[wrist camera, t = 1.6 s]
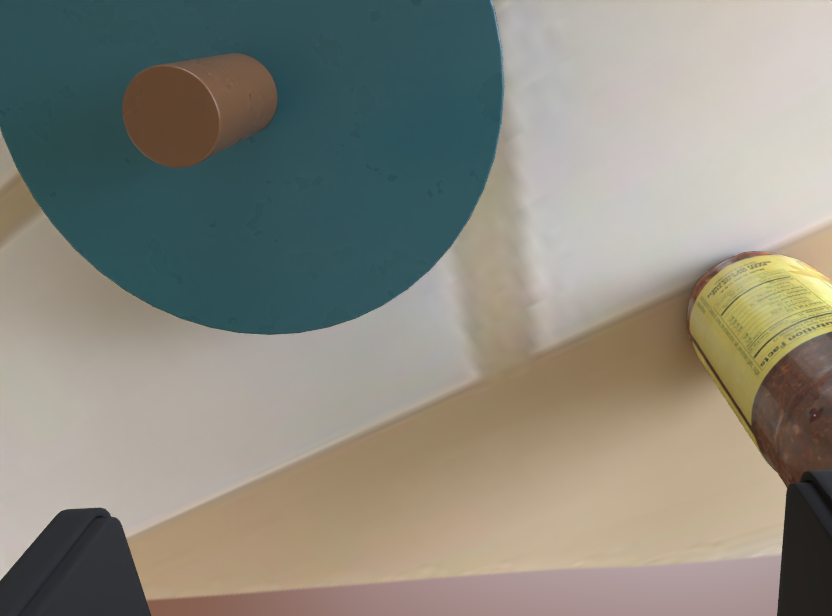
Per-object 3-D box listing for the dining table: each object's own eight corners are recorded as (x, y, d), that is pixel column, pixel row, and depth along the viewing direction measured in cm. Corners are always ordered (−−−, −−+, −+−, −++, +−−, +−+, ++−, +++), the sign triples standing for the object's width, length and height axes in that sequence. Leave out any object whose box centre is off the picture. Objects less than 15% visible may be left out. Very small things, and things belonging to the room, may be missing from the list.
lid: (3, -274, 23) (-192, -390, 16) (570, -134, 23) (605, -192, 16) (3, 263, 30) (-133, 334, 24) (435, 369, 30) (421, 469, 24)
